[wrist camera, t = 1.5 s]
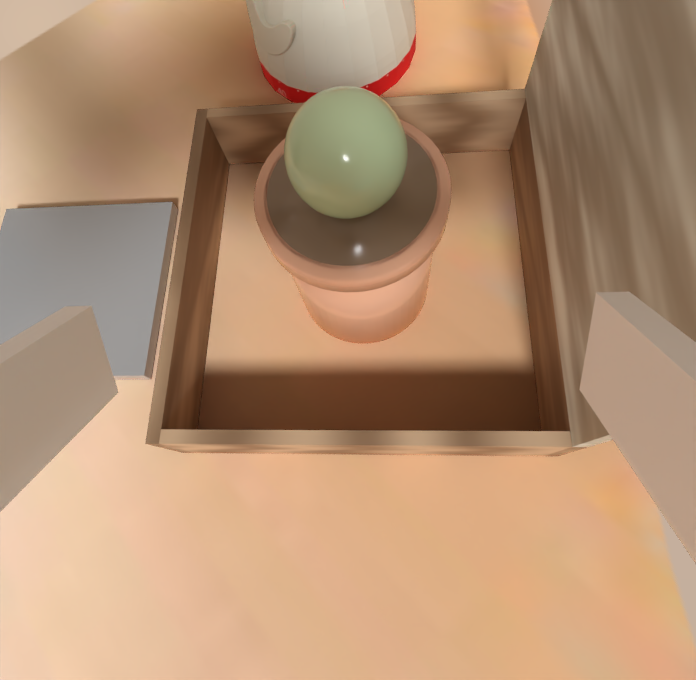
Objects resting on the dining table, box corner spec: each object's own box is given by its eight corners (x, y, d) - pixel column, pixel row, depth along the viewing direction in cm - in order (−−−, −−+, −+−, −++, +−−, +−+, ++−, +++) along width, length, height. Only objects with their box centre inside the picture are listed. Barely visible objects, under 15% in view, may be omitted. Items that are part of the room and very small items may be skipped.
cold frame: (182, 452, 32) (-443, 301, 8) (220, 156, 39) (-40, -361, 16) (557, 456, 29) (1221, 257, 6) (519, 140, 37) (732, -491, 14)
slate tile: (-32, 380, 35) (-43, 376, 34) (15, 216, 39) (6, 209, 38) (151, 379, 33) (144, 375, 33) (177, 209, 38) (172, 201, 37)
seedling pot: (280, 249, 36) (195, 59, 21) (405, 207, 36) (413, -12, 21) (318, 369, 33) (249, 249, 17) (456, 323, 33) (509, 162, 17)
